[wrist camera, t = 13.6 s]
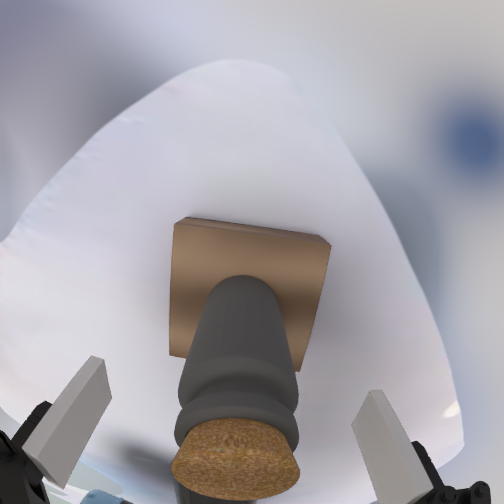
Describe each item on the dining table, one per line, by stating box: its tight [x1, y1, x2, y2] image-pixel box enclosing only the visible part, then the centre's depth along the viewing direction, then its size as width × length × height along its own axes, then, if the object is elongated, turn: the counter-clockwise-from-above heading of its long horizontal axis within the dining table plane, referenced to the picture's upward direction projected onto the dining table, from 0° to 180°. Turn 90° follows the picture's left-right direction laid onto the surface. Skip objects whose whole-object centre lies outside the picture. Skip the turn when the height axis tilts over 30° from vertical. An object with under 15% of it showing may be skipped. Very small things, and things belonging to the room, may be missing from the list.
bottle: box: [171, 275, 300, 500], centre depth 14 cm, size 6×6×15 cm
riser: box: [169, 217, 331, 372], centre depth 24 cm, size 12×12×4 cm
